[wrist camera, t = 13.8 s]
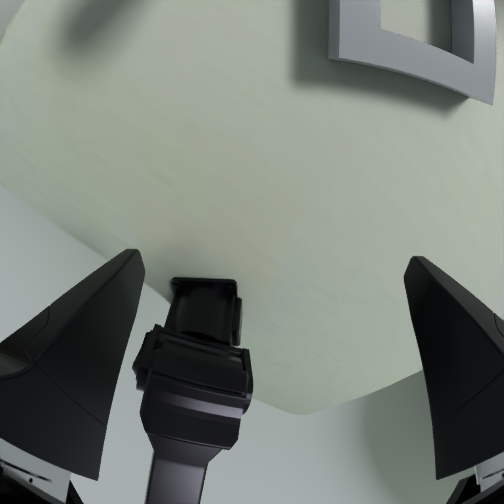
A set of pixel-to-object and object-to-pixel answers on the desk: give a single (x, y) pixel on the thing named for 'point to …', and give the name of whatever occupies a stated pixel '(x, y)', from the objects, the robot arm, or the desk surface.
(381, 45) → the dock
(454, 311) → the robot arm
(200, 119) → the desk surface
